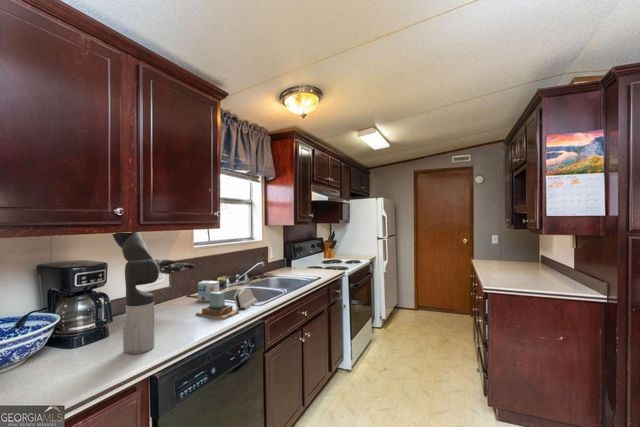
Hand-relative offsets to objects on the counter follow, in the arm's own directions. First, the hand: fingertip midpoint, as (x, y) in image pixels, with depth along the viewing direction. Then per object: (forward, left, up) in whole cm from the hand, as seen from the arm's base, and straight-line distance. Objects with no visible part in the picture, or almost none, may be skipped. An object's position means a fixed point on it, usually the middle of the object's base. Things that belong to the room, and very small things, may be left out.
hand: (186, 268), depth 158 cm
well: (+6, -15, -24) cm, 28 cm away
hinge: (+24, -18, -24) cm, 39 cm away
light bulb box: (+26, +10, -24) cm, 37 cm away
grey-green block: (+6, -15, -23) cm, 28 cm away
